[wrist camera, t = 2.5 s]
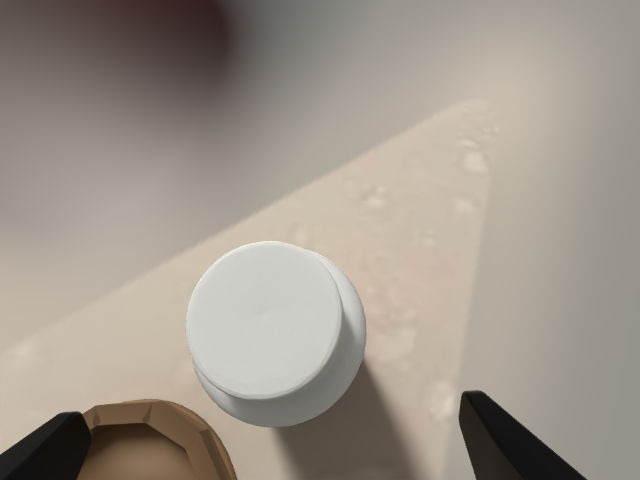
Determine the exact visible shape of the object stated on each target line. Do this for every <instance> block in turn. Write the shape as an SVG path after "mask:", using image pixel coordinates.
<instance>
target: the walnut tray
mask: <svg viewBox="0 0 640 480" xmlns="http://www.w3.org/2000/svg"><path fill="white" fill-rule="evenodd" d="M83 416H84V418H85V420H86V422H87V424H88V427H89V429H90V431H91V433H92V444H91V447H90V450H89V452H88V454H87V457H86V459H85V462H84V464H83V466H82V469H81V471H80V473H79V476H78V478H77V480H236V477H235V473H234V469H233V466H232V463H231V461H230V458H229V455H228V453H227V451H226V449H225V447H224V445H223V443H222V441H221V440H220V438H219V437H218V435H217V434H216V433H215V431H214V430H213V429H212V428H211V427H210V426H209V425H208V424H207V422H206V421H205V420H204V419H202V418H201V417H200V416H198V415H197V414H196V413H194V412H193V411H191V410H189V409H187V408H185V407H184V406H182V405H179V404H176V403H173V402H169V401H163V400H157V399H143V400H135V401H127V402H123V403H118V404H106V405H97V406H94V407H93V408H91V409H90V410H88V411H86V412H85V413H83Z"/></svg>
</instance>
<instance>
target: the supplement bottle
mask: <svg viewBox="0 0 640 480" xmlns="http://www.w3.org/2000/svg"><path fill="white" fill-rule="evenodd" d="M186 339H187V343H188V347H189V351H190V354H191V356H192V362H193V365H194V369H195V372H196V375H197V377H198V379H199V381H200V383H201V385H202V387H203V388H204V390H205V391H206V393H207V394H208V395H209V397H210V398H211V399H212V400H213V401H214V402H215V403H216V404H217V405H218V406H219V407H220V408H221V409H222V410H224V411H225V412H226V413H228V414H229V415H231V416H233V417H235V418H237V419H239V420H241V421H243V422H245V423H249V424H252V425H256V426H262V427H286V426H292V425H296V424H300V423H303V422H305V421H308V420H310V419H312V418H314V417H316V416H318V415H320V414H321V413H323V412H324V411H326V410H327V409H329V408H330V407H331V406H332V405H333V404H335V403H336V402H337V401H338V400H339V399H340V398H341V397H342V395H343V394H344V393H345V392H346V391H347V389H348V388H349V386H350V385H351V384H352V382H353V380H354V378H355V376H356V374H357V372H358V370H359V368H360V366H361V362H362V359H363V356H364V350H365V345H366V319H365V314H364V310H363V306H362V303H361V300H360V297H359V295H358V293H357V291H356V289H355V287H354V286H353V284H352V282H351V281H350V279H349V278H348V277H347V276H346V275H345V274H344V272H343V271H342V270H341V269H340V268H339V267H337V266H336V265H335V264H334V263H333V262H331V261H330V260H329V259H327V258H325V257H323V256H322V255H320V254H318V253H315V252H313V251H311V250H308V249H304V248H300V247H297V246H295V245H291V244H288V243H284V242H276V241H263V242H255V243H250V244H247V245H244V246H241V247H239V248H236V249H234V250H232V251H230V252H229V253H227V254H225V255H224V256H222V257H221V258H220V259H218V260H217V261H216V262H215V263H214V264H213V265H212V266H211V267H210V268H209V269H208V270H207V271H206V272H205V274H204V275H203V276H202V277H201V279H200V281H199V282H198V284H197V286H196V288H195V290H194V291H193V294H192V296H191V299H190V302H189V306H188V310H187V317H186Z"/></svg>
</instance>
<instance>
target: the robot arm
mask: <svg viewBox="0 0 640 480" xmlns="http://www.w3.org/2000/svg"><path fill="white" fill-rule="evenodd" d="M459 424H460V428H461V431H462V434H463V438H464V441H465V444H466V447H467V450H468V454H469V457H470V460H471V463H472V467H473V470H474V473H475V477H476V480H587V479H586V478H585V477H583V476H582V475H581V474H580V473H578V471H576V470H575V469H574V468H573V467H572V466H570V465H569V464H568V463H567V462H565V461H564V460H563V459H562V458H561V457H560V456H558V455H557V454H556V453H555V452H554V451H553V450H551V449H550V448H549V447H548V446H546V445H545V444H544V443H543V442H542V441H541V440H539V439H538V438H537V437H536V436H535V435H534V434H532V433H531V432H530V431H529V430H528V429H526V428H525V427H524V426H523V425H522V424H521V423H519V422H518V421H517V420H516V419H515V418H513V417H512V416H511V415H510V414H509V413H508V412H506V411H505V410H504V409H503V408H502V407H500V406H499V405H498V404H497V403H496V402H494V401H493V400H492V399H491V398H490V397H489V396H487V395H486V394H485V393H484V392H482V391H478V390H475V391H464V392H463V393H462V396H461V403H460V411H459ZM91 444H92V433H91V431H90V429H89V427H88V424H87V422H86V420H85V418H84V416H83V414H82V413H80V412H77V411H75V412H63V413H60V414H58V415H56V416H55V417H53V418H52V419H51V420H49V421H48V422H46V423H45V424H43V425H42V426H41V427H39V428H38V429H36V430H35V431H33V432H32V433H31V434H29V435H28V436H26V437H25V438H23V439H22V440H21V441H19V442H18V443H16V444H15V445H13V446H12V447H11V448H9V449H8V450H6V451H5V452H3V453H2V454H1V455H0V480H77V478H78V476H79V473H80V471H81V469H82V466H83V464H84V462H85V459H86V457H87V454H88V452H89V450H90V447H91Z"/></svg>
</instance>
